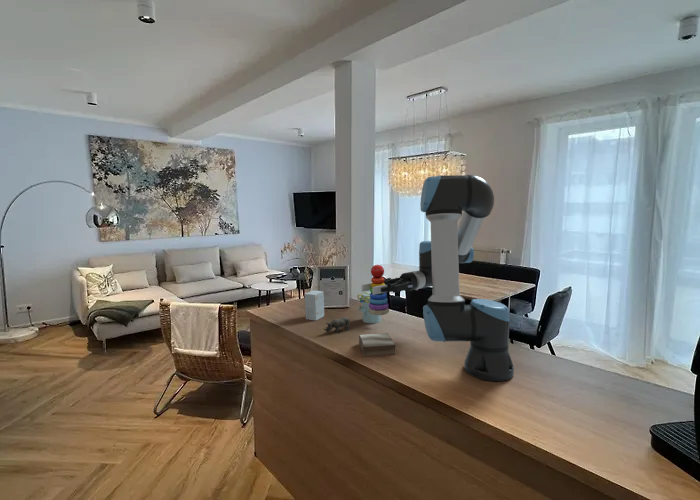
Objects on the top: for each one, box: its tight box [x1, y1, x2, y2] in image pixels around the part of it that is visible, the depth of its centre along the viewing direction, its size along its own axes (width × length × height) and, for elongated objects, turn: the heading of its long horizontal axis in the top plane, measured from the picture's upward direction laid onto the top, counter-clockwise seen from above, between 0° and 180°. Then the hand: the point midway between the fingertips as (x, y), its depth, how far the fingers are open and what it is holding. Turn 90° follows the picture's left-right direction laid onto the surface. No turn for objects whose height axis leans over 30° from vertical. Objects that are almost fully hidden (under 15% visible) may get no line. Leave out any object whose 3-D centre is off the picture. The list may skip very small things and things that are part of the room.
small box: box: [304, 289, 325, 321], centre depth 178 cm, size 8×6×13 cm
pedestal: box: [358, 332, 396, 357], centre depth 138 cm, size 12×12×4 cm
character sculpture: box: [356, 291, 382, 324], centre depth 171 cm, size 20×12×13 cm, turn 34°
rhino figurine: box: [323, 316, 350, 334], centre depth 158 cm, size 4×14×6 cm, turn 123°
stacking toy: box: [368, 264, 390, 316], centre depth 136 cm, size 8×8×19 cm
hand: (367, 289), depth 134 cm, fingers closed on stacking toy, 6 cm apart
